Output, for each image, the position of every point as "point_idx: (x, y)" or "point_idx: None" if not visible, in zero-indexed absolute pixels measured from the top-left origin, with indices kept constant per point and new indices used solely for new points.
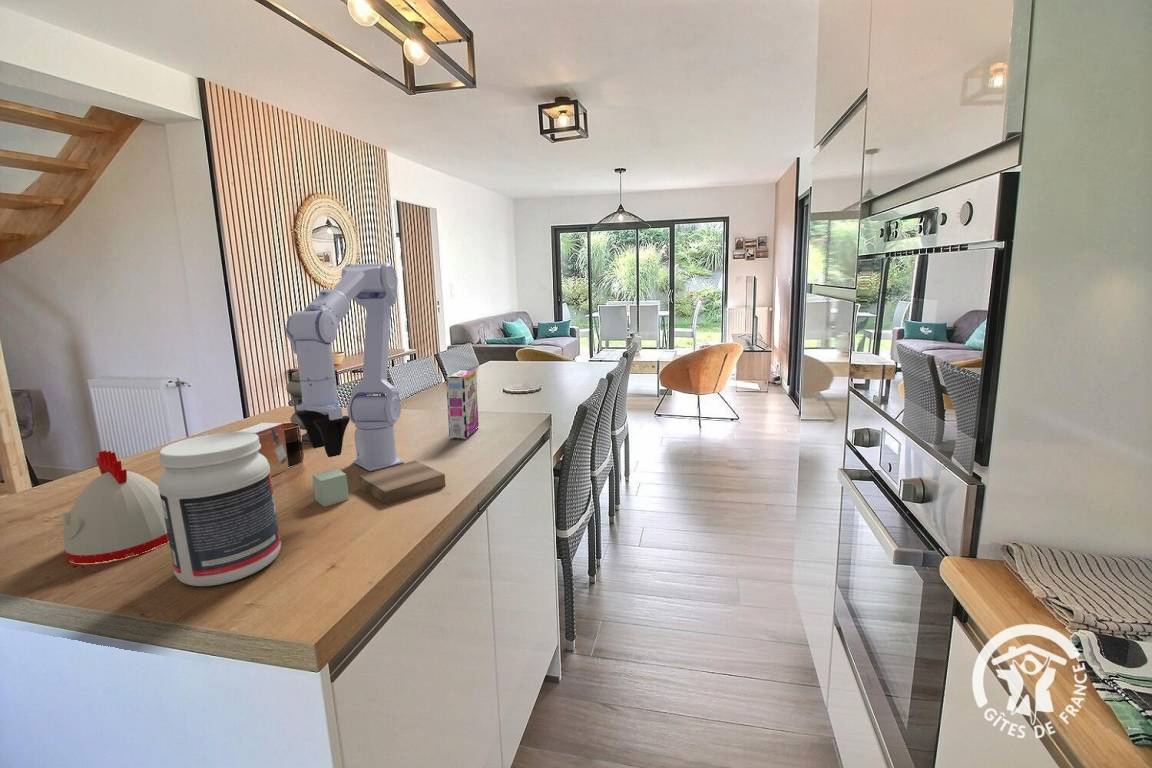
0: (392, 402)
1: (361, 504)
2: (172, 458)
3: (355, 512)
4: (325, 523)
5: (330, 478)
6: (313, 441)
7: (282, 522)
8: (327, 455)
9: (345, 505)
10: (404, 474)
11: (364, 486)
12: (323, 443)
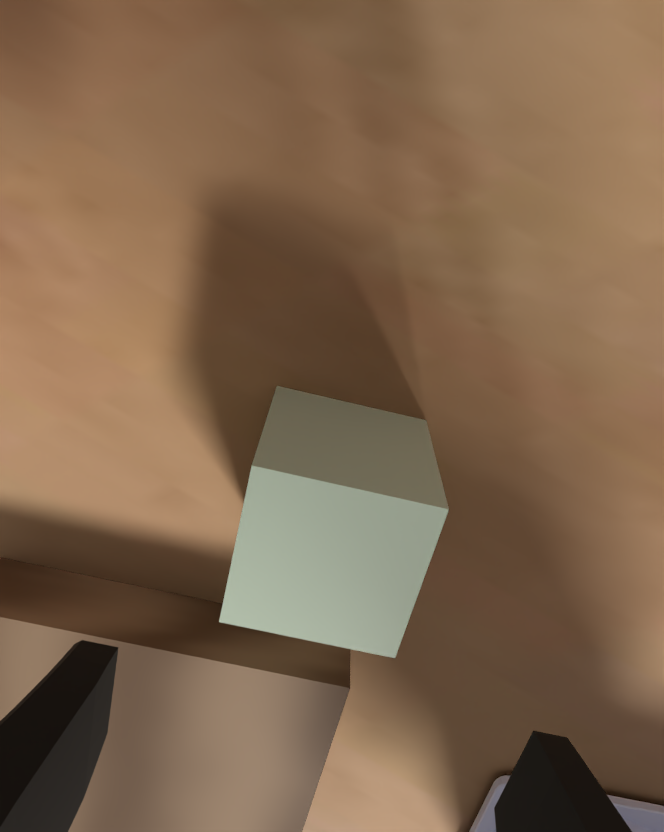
0: None
1: (119, 502)
2: None
3: (38, 423)
4: (24, 245)
5: (240, 527)
6: (559, 811)
7: (275, 101)
8: (101, 653)
9: (183, 454)
10: (127, 788)
11: (279, 635)
12: (36, 769)
